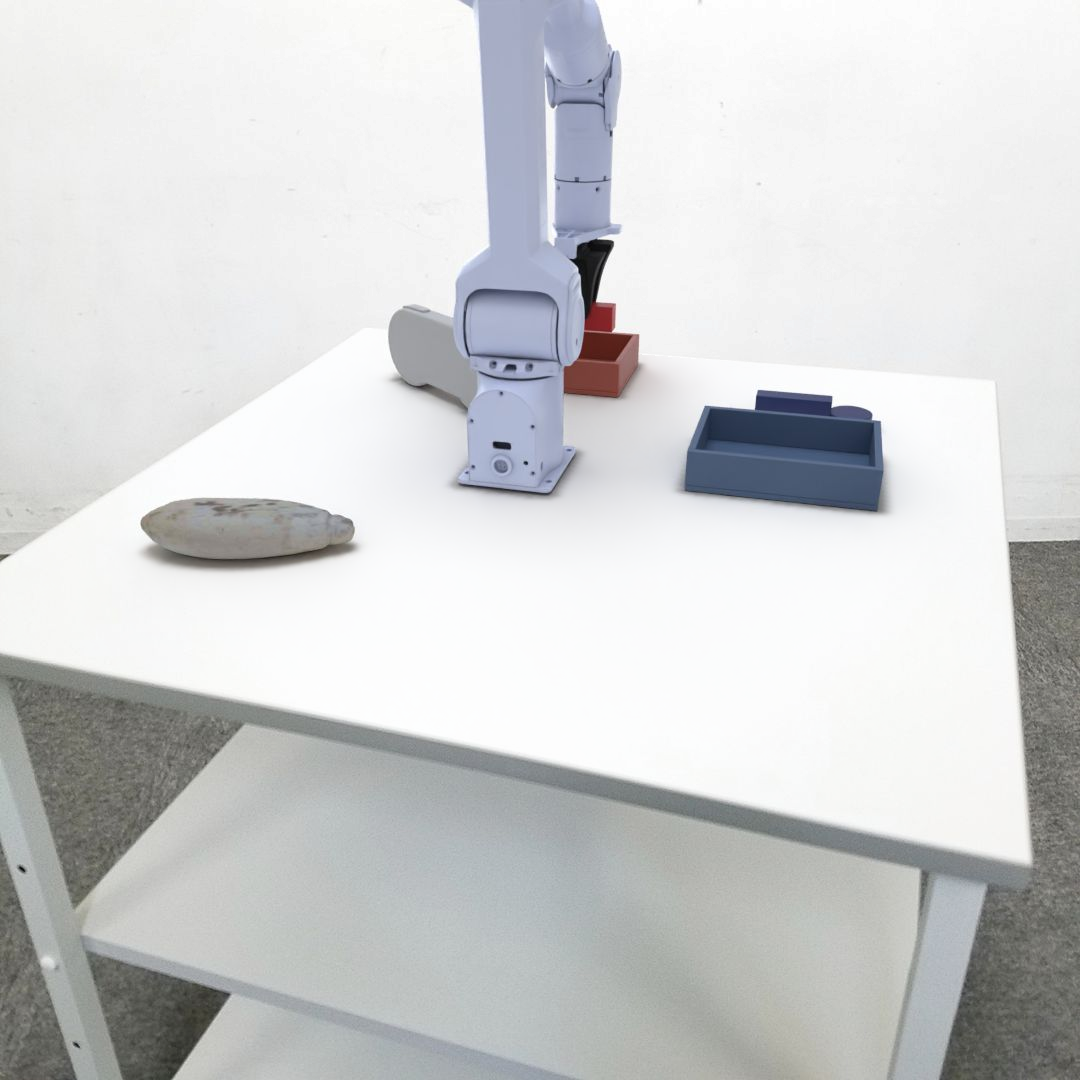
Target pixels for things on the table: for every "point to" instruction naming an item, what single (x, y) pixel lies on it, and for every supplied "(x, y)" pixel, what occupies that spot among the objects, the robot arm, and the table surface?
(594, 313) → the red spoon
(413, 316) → the game controller
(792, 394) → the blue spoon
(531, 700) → the table surface
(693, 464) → the blue bin
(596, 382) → the red bin
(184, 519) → the decorative stone
